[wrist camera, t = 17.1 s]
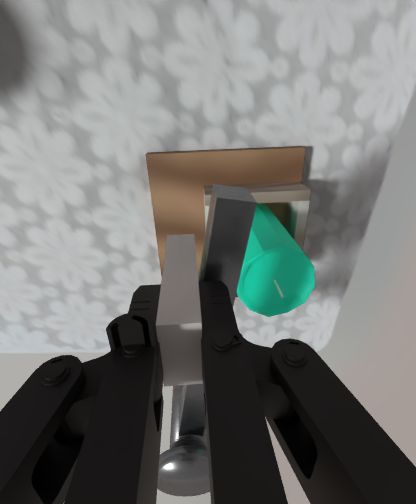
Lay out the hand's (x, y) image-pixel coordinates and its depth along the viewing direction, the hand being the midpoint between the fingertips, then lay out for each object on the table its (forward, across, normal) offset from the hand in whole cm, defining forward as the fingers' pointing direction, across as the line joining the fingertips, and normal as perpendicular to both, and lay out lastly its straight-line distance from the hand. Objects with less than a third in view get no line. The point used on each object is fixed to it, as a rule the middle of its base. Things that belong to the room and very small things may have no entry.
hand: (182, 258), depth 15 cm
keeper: (+14, +1, -5) cm, 15 cm away
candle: (+14, +7, -5) cm, 17 cm away
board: (+16, +4, -5) cm, 17 cm away
